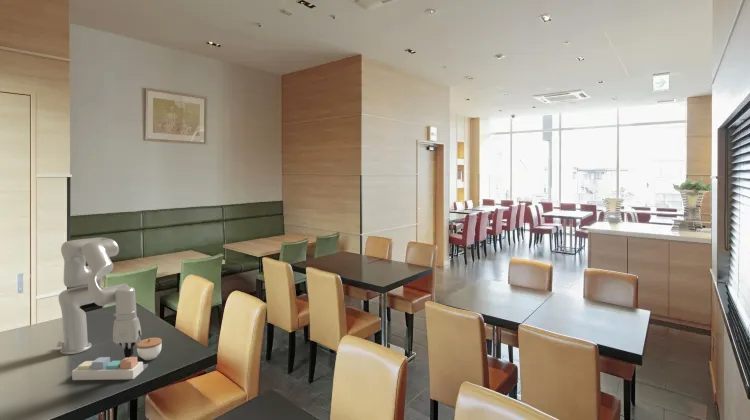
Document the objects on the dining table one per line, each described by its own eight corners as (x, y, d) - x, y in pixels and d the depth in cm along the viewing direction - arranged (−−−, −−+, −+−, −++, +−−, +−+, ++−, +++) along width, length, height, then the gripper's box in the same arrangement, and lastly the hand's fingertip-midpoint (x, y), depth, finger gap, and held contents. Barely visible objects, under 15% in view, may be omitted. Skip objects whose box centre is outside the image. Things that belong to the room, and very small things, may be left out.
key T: (106, 376, 171) (105, 365, 171) (113, 371, 176) (112, 360, 175) (117, 376, 171) (117, 365, 171) (124, 371, 176) (123, 360, 175)
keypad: (72, 380, 169) (71, 371, 169) (91, 366, 181) (90, 358, 180) (133, 379, 170) (132, 370, 170) (148, 366, 182) (147, 357, 181)
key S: (92, 373, 171) (91, 362, 170) (99, 368, 175) (99, 357, 175) (103, 373, 171) (102, 362, 170) (110, 367, 176) (109, 357, 175)
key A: (120, 372, 171) (119, 361, 171) (126, 367, 176) (126, 356, 175) (131, 372, 171) (131, 361, 171) (137, 367, 176) (137, 356, 176)
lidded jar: (144, 364, 183) (143, 345, 182) (132, 358, 189) (131, 340, 188) (167, 355, 192) (166, 337, 192) (155, 350, 198) (154, 332, 197)
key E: (78, 377, 170) (77, 366, 170) (86, 371, 175) (85, 361, 175) (89, 377, 171) (89, 366, 170) (97, 371, 175) (96, 360, 175)
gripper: (103, 319, 167) (106, 360, 169) (139, 318, 168) (141, 359, 169) (114, 313, 175) (117, 353, 176) (148, 312, 175) (150, 352, 177)
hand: (128, 356), depth 173 cm, fingers closed
